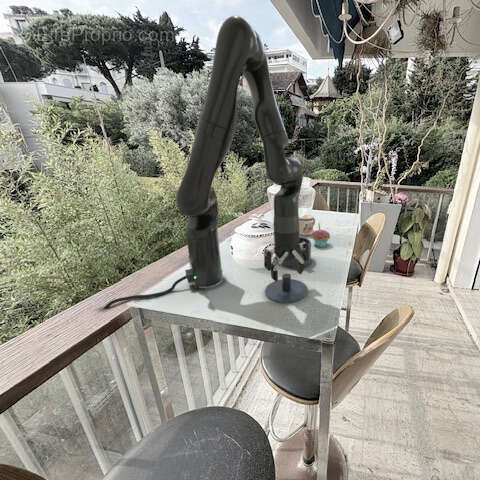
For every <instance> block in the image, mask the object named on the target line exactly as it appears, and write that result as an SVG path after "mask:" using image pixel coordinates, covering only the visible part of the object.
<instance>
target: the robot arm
mask: <svg viewBox="0 0 480 480" xmlns="http://www.w3.org/2000/svg"><path fill="white" fill-rule="evenodd" d="M242 74H243V76H244V79H245V81H246V83H247V85H248V88H249V90H250V94H251V101H252V114H253V118H254V119H253V120H254V123H255V126H256V129H257V132H258V135H259V138H260V141H261V143H262V149H263V160H264V169H265V172H266V176H267V178H268V179H269V180H270V181H271V183H273V184H274V185H276V186H280V189H279V190H278V191H277V192H276V193H275V194H274V196H273V244H274V247H273V249H268V248H266V249H264V250H263V251H264V253H263V260H264V261H263V267H264V268H265V269H266V270H267V271H270V277H271V279H272V280H273V281H278V280H279V275H278V274H279V273H278V269H279V267H280V266H282V265H281V264H282V262H283V261H287V260H292V259H293V258H296V259H297V261H298V262H297V267H296V273H298V275H302V274H303V272H304V266H303V263H304V262H305V261H308V260H309V247H308V244H307V243H306V242H304V241H302V242H301V243H300V244H299V237H300V235H299V226H300V224H299V214H300V213H299V198H300V194H301V189H302V185H303V180H304V169H303V165H302V163H301V161H300V160H299V159H298V158H297V157H294V156H286V154H285V148H286V147H287V146H288V145H289V136H288V133H287V130H286V127H285V124H284V120H283V118H282V115H281V112H280V109H279V106H278V102H277V99H276V96H275V92H274V88H273V83H272V78H271V74H270V68H269V63H268V57H267V51H266V47H265V44H264V41H263V39H262V37H261V36H260V34H259V33H258V32H257V31H256V30H255V29H254V28H253V27H252V25H251V24H250V23H249V22H248V21H247V20H245V19H244V18H243V17H241V16H239V15H231V16H229V17H228V18H226V19H225V20H224V21H223V23H222V24H221V26H220V28H219V30H218V34H217V38H216V43H215V47H214V54H213V61H212V67H211V72H210V78H209V82H208V86H207V91H206V93H205V98H204V102H203V105H202V108H201V111H200V116H199V118H198V123H197V126H196V129H195V134H194V138H193V143H192V147H191V151H190V155H189V159H188V163H187V166H186V169H185V172H184V175H183V177H182V179H181V182H180V184H179V187H178V189H177V192H176V197H175V203H176V206H177V209H178V210H179V212H180V213H181V214H182V215H184V216H186V217H187V218H188V219H187V223H186V225H185V228H184V232H185V239H186V244H187V250H188V263H189V268H188V269H185V270H184V271H185V275H184V276H182V277H180V278H179V279H176V281H174V283H173V284H172V285H171V287H170V288H168V289H166V290H164V291H160V292H155V293H149V294H136V295H130V296H123V297H119V298H114V299H112V300H111V301H109V302H108V303H107V304H106V305H105V306H104V307H103V308H102V309H103V310H107V309H109V308H110V307H111V306H112V305H113V304H116V303H119V302H123V301H128V300H134V299H148V298H149V299H150V298H153V297H159V296H163V295H166V294H168V293H170V292H172V291H174V290H175V288H176V286H177V285H178V284H179V283H181V282H182V281H184V280H187V283H188V284H191V283H192V285H193V287H194V289H195V290H198V289H201V290H203V289H205V290H206V289H207V288H208V289H209V288H213V287H216V286H219V285H220V284H221V283H222V282H223V280H224V276H223V272H224V271H223V267H222V259H221V250H220V240H219V231H218V230H219V229H218V228H219V219H220V218H219V206H218V198H217V197H218V196H217V193H216V190H215V189H214V187H212V185H213V181H214V178H215V176H216V175H217V174H216V173H217V172H218V169H219V168H220V167H221V165H222V163H223V162H224V160H225V158H226V156H227V155H228V153H229V151H230V149H231V145H232V144H233V140H234V137H235V134H236V132H237V126H238V119H239V118H238V117H239V116H238V89H239V83H240V80H241V77H242ZM300 248H301V249H302V257H300V255H299V254H298V251H299V249H300ZM274 255H275V256H274Z"/></svg>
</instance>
